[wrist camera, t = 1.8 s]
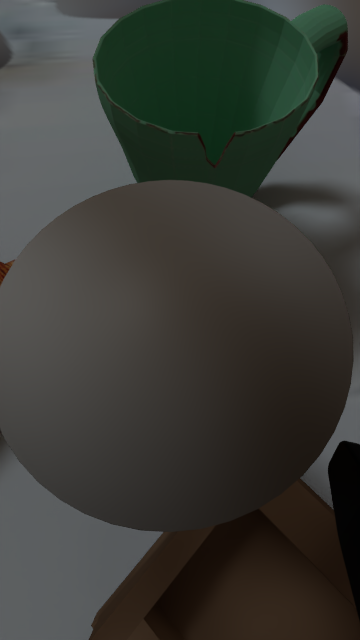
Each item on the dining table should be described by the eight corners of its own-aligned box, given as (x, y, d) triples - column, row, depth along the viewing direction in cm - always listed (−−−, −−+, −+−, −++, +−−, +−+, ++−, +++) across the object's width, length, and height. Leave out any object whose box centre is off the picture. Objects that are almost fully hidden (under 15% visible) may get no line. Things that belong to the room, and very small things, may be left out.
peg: (178, 485, 16) (171, 659, 4) (101, 402, 17) (-87, 322, 5) (251, 399, 18) (422, 313, 5) (175, 329, 19) (167, 136, 7)
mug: (182, 298, 20) (183, 176, 11) (103, 204, 23) (50, 42, 13) (334, 194, 23) (439, 29, 14) (249, 123, 26) (288, -54, 16)
